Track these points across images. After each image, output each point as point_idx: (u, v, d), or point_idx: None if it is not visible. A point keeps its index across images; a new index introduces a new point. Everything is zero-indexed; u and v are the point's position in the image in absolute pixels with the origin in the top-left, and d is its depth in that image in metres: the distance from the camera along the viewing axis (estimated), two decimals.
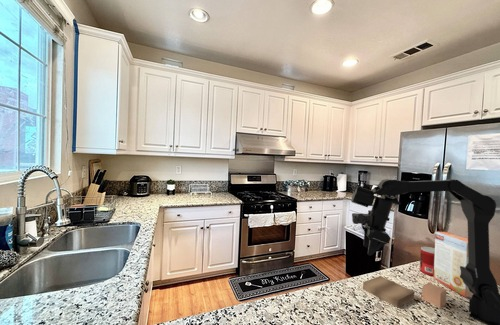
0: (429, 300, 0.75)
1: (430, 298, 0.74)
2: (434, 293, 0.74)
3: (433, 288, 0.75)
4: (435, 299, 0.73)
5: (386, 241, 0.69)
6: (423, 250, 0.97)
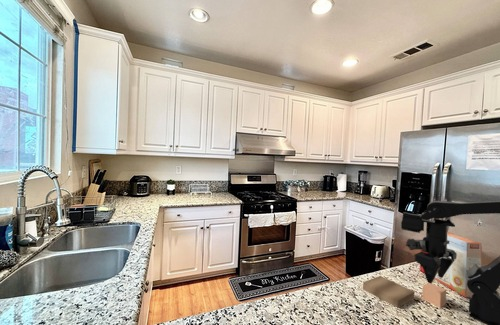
0: (429, 300, 0.75)
1: (430, 298, 0.74)
2: (434, 293, 0.74)
3: (433, 288, 0.75)
4: (435, 299, 0.73)
5: (432, 265, 0.69)
6: None
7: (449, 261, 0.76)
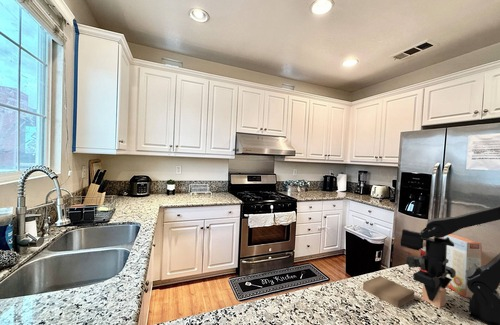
0: (429, 300, 0.75)
1: None
2: None
3: None
4: (435, 299, 0.73)
5: (430, 285, 0.69)
6: (423, 250, 0.97)
7: (446, 281, 0.75)
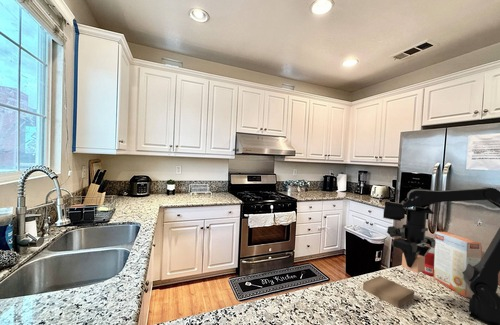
0: (408, 267, 0.77)
1: None
2: None
3: None
4: (413, 265, 0.75)
5: (408, 250, 0.71)
6: None
7: (425, 249, 0.77)
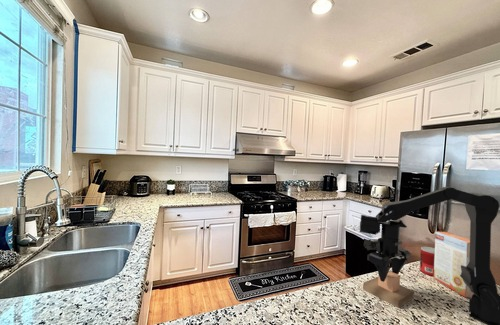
0: (383, 285, 0.78)
1: (384, 284, 0.78)
2: (387, 279, 0.77)
3: (387, 274, 0.78)
4: (388, 284, 0.76)
5: (381, 264, 0.72)
6: (423, 250, 0.97)
7: (402, 261, 0.79)
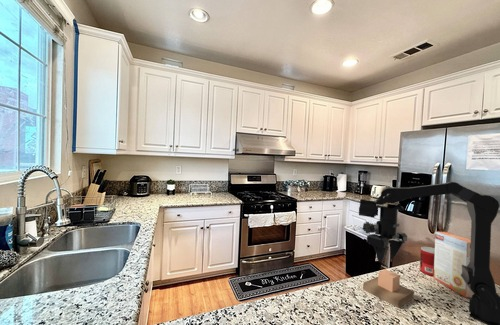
0: (383, 285, 0.78)
1: (384, 284, 0.78)
2: (387, 279, 0.77)
3: (387, 274, 0.78)
4: (388, 284, 0.77)
5: (380, 245, 0.75)
6: (423, 250, 0.97)
7: (400, 243, 0.82)
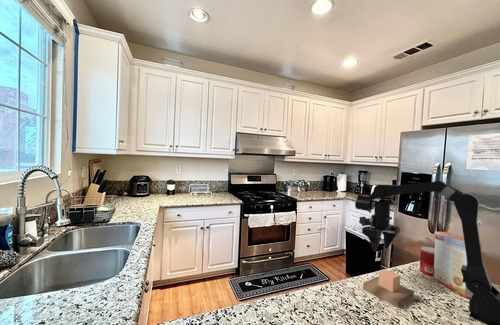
0: (384, 285, 0.78)
1: (385, 284, 0.78)
2: (388, 279, 0.77)
3: (388, 274, 0.78)
4: (389, 284, 0.77)
5: (373, 235, 0.84)
6: (423, 250, 0.97)
7: (392, 234, 0.91)
